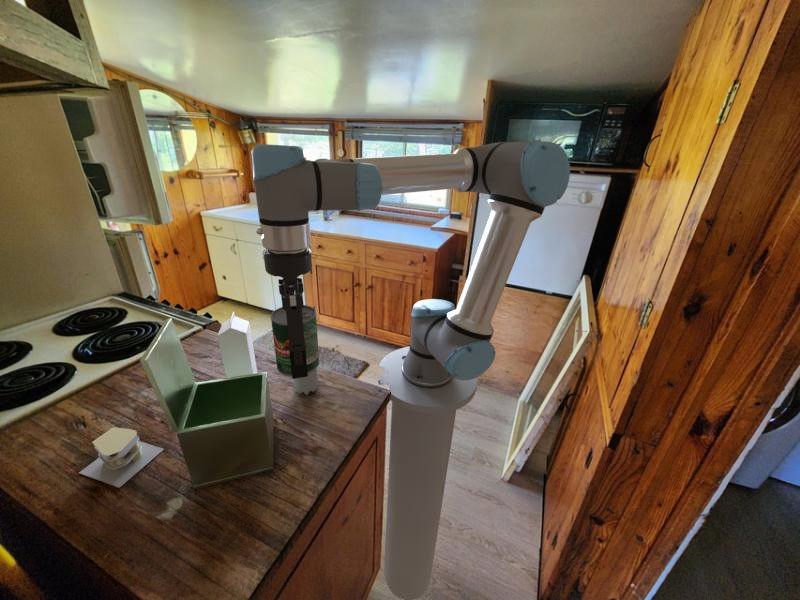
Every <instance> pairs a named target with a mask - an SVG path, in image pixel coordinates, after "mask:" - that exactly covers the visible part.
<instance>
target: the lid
mask: <svg viewBox="0 0 800 600" xmlns="http://www.w3.org/2000/svg"><path fill="white" fill-rule="evenodd" d="M139 362H140V364H141V366H142V369H143V370H144V373H145V375H146V377H147V380H148V381H149V383H150V385H151V388H152V390H153V392H154V394H155V396H156V399H157V401H158V403H159V406H160V407H161V410H162V411H163V413H164V415H165V417H166V420H167V422H168V424H169V426H170V428H171V430H172V433H174V432H177V431H178V430H179V428H180V425H181V422H182V419H183V416H184V413H185V410H186V407H187V404H188V401H189V399H190V396H191V393H192V390H193V387H194V384H195V383H196V381H197V380H196V378H195V375H194V372H193V370H192V368H191V365H190V362H189V360H188V356H187V354H186V352H185V349H184V346H183V344H182V341H181V339H180V336H179V333H178V331H177V329H176V326H175V324H174V321H173V319H172V317H170V318H166V319H165V320H164V322H163V323H162V325H161V327H160V328H159V330H158V331H157V333H156V335H155V336H154V338H153V339H152V341H151V342H150V344H149V345H148V347H147V348H146V350H145V352H144V353H143V355H142V356H141V357H140V359H139Z"/></svg>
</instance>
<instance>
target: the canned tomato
mask: <svg viewBox="0 0 800 600" xmlns="http://www.w3.org/2000/svg"><path fill="white" fill-rule="evenodd" d="M302 318H303V328H304V339H305V345H306V360H307V372H308V374H309V373H311V372H312V371H314V370H315V369H316V368H317V369H318V367H319V366H320V356H319V355H320V354H319V336H318V321H317V310H316V309H315V308H314V307H313V306H310V305H307V304H304V307H303V308H302ZM270 320H271V321H270V322H271V328H272V329H271V331H272V338H273V339H272V340H273V346H274V354H275V362H276V369H277V371H278V373H279V374H281V375H283V376H285V377H291V378H292V371H291V362H290V353H289V350H286V351H285V347H286V346H289V336H288V327H287V317H286V310H284V309H283V307H282V306H280V307H278V308H277V309H275V310H274V311H272V312H271V314H270Z"/></svg>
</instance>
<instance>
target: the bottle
mask: <svg viewBox="0 0 800 600" xmlns="http://www.w3.org/2000/svg"><path fill="white" fill-rule="evenodd" d="M318 372H319V371H318V367H317V368H316V369H315V370H314V371H312V372H311V373H309V374H308V377H302V378H296V379H292V382H293V387H294V389H295V391H296V392H297V393H298V394H299V395H302V394H303V393H304V396H305V395H306V396H307V395H309V394H310V393H315V392H316V390H317V388H318V387H319V384H320V383H319V381H320V380H319V373H318Z"/></svg>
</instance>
